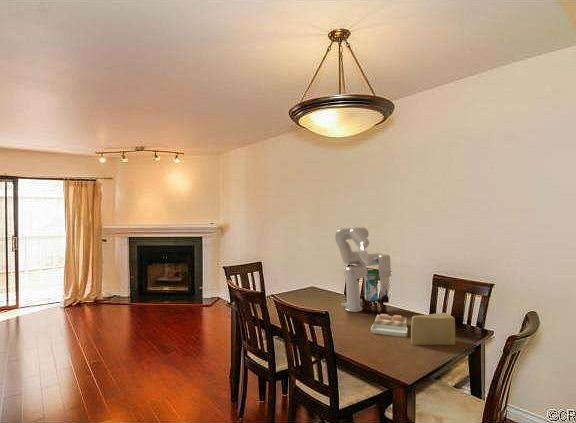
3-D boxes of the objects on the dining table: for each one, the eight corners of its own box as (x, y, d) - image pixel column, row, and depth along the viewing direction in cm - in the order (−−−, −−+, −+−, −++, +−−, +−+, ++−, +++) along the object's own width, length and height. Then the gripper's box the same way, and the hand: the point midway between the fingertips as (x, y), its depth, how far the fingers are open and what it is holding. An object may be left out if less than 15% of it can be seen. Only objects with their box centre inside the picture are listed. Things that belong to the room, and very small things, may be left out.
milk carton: (376, 298, 271) (375, 267, 271) (377, 300, 262) (377, 269, 262) (364, 298, 272) (364, 267, 272) (366, 300, 263) (365, 269, 263)
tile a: (380, 319, 204) (379, 315, 204) (380, 316, 208) (380, 313, 208) (387, 319, 202) (387, 316, 202) (388, 317, 207) (388, 314, 207)
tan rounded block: (416, 348, 170) (415, 319, 171) (407, 341, 180) (406, 313, 180) (456, 345, 173) (455, 316, 173) (445, 338, 182) (445, 311, 182)
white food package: (374, 327, 202) (374, 320, 202) (377, 321, 213) (377, 314, 213) (405, 331, 195) (405, 323, 195) (407, 324, 206) (406, 317, 206)
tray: (370, 333, 193) (370, 329, 193) (373, 327, 202) (373, 323, 202) (406, 337, 185) (406, 333, 185) (407, 331, 194) (407, 327, 194)
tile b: (393, 320, 201) (393, 317, 201) (394, 318, 205) (394, 314, 205) (401, 321, 199) (401, 317, 199) (401, 318, 203) (401, 315, 203)
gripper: (380, 271, 221) (381, 299, 221) (377, 275, 207) (378, 304, 207) (391, 272, 218) (393, 300, 218) (389, 275, 204) (391, 305, 204)
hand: (386, 302), depth 212 cm, fingers closed
